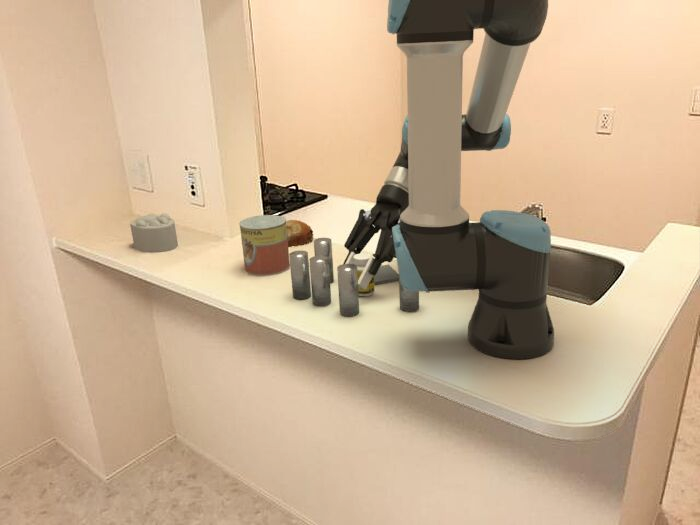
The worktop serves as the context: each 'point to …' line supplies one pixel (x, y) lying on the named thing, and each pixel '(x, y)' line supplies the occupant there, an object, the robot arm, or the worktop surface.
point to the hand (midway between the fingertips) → (351, 283)
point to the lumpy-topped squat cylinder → (154, 233)
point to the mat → (386, 275)
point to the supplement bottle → (361, 262)
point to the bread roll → (298, 233)
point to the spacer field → (324, 277)
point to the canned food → (265, 245)
